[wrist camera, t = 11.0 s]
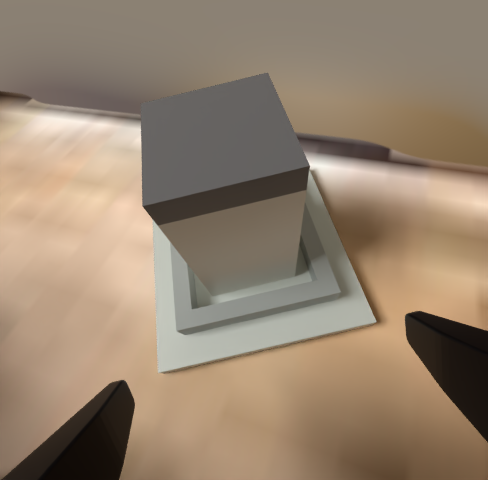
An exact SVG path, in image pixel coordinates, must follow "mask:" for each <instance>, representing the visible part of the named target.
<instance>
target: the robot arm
mask: <svg viewBox="0 0 488 480" xmlns="http://www.w3.org/2000/svg"><path fill="white" fill-rule="evenodd" d="M405 326H406V337H407V340H408V342H409V344H410V346H411V347H412V348H413V350H414V351H415V353H416V354H417V355H418V357H419V358H420V359H421V361H422V362H423V364H424V365H425V366H426V368H427V369H428V371H429V372H430V373H431V375H432V376H433V378H434V379H435V380H436V382H437V383H438V384H439V386H440V387H441V388H442V390H443V391H444V392H445V393H446V395H447V396H448V397H449V398H450V399H451V400H452V402H453V403H454V404H455V405H456V406H457V407H458V409H459V410H460V411H461V412H462V413H463V414H464V415H465V417H466V418H467V419H468V420H469V421H470V422H471V424H472V425H473V426H474V427H475V428H476V429H477V430H478V432H479V433H480V434H481V435H482V436H483V437H484V439H485V440H486V441H487V442H488V331H486V330H482V329H479V328H476V327H472V326H469V325H466V324H462V323H459V322H455V321H452V320H449V319H445V318H442V317H439V316H435V315H432V314H428V313H425V312H422V311H416V312H411V313H408V314H406V316H405ZM134 408H135V402H134V398H133V396H132V394H131V391H130V389H129V387H128V384H127V382H126V381H124V380H120V381H115V382H112V383H110V384H109V385H108V386H106V387H105V388H104V389H103V390H102V391H101V392H100V393H99V394H97V395H96V396H95V397H94V398H93V399H92V400H91V401H90V402H88V403H87V404H86V405H85V406H84V407H83V408H82V409H81V410H79V411H78V412H77V413H76V414H75V415H74V416H73V417H72V418H70V419H69V420H68V421H67V422H66V423H65V424H64V425H63V426H61V427H60V428H59V429H58V430H57V431H56V432H55V433H54V434H52V435H51V436H50V437H49V438H48V439H47V440H46V441H45V442H43V443H42V444H41V445H40V446H39V447H38V448H37V449H36V450H34V451H33V452H32V453H31V454H30V455H29V456H28V457H27V458H25V459H24V460H23V461H22V462H21V463H20V464H19V465H18V466H16V467H15V468H14V469H13V470H12V471H11V472H10V473H9V474H7V475H6V476H5V477H4V478H3V479H2V480H119V478H120V474H121V471H122V467H123V463H124V459H125V454H126V449H127V444H128V439H129V434H130V429H131V424H132V418H133V413H134Z"/></svg>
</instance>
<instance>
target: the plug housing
mask: <svg viewBox="0 0 488 480" xmlns="http://www.w3.org/2000/svg"><path fill="white" fill-rule="evenodd" d="M141 142H142V201H143V207H144V209H145V210H146V211H147V213H148V214H149V215H150V216H151V218H152V219H153V220H154V222H155V223H156V224H157V225H158V227H159V228H160V229H161V231H162V232H163V233H164V235H165V236H166V237H167V238H168V240H169V241H170V242H171V244H172V245H173V246H174V247H175V249H176V250H177V251H178V253H179V254H180V255H181V256H182V258H183V259H184V260H185V262H186V263H187V264H188V266H189V267H190V268H191V269H192V271H193V272H194V273H195V275H196V276H197V277H198V278H199V280H200V281H201V282H202V284H203V285H204V286H205V287H206V289H207V290H208V291H209V293H210V294H211V295H212V296H216V295H220V294H224V293H228V292H232V291H237V290H241V289H245V288H249V287H253V286H258V285H262V284H266V283H270V282H274V281H279V280H283V279H287V278H291V277H295V272H296V264H297V257H298V249H299V242H300V235H301V227H302V220H303V212H304V205H305V198H306V190H307V183H308V175H309V168H310V165H309V163H308V161H307V159H306V156H305V154H304V152H303V150H302V148H301V145H300V143H299V141H298V139H297V136H296V134H295V132H294V130H293V128H292V125H291V123H290V121H289V119H288V117H287V114H286V112H285V110H284V108H283V105H282V103H281V101H280V99H279V97H278V94H277V92H276V90H275V88H274V85H273V83H272V81H271V79H270V77H269V74H268V73H264V74H260V75H256V76H252V77H248V78H244V79H240V80H236V81H232V82H228V83H223V84H219V85H215V86H211V87H207V88H203V89H199V90H195V91H190V92H186V93H182V94H178V95H174V96H170V97H166V98H162V99H158V100H153V101H149V102H146V103H142V104H141Z"/></svg>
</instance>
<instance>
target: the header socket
mask: <svg viewBox="0 0 488 480" xmlns="http://www.w3.org/2000/svg"><path fill="white" fill-rule="evenodd" d="M153 243H154V272H155V300H156V328H157V357H158V373H164V374H165V373H169V372H173V371H178V370H182V369H186V368H191V367H195V366H199V365H203V364H208V363H212V362H216V361H221V360H225V359H229V358H234V357H238V356H242V355H246V354H251V353H255V352H259V351H264V350H268V349H272V348H276V347H281V346H285V345H289V344H294V343H298V342H302V341H306V340H311V339H315V338H319V337H324V336H328V335H332V334H337V333H341V332H345V331H349V330H354V329H358V328H362V327H367V326H371V325H373V324H374V323H376V319H375V317H374V315H373V313H372V310H371V308H370V306H369V303H368V301H367V299H366V297H365V294H364V292H363V290H362V288H361V285H360V283H359V281H358V279H357V276H356V274H355V272H354V269H353V267H352V265H351V263H350V260H349V258H348V256H347V254H346V251H345V249H344V247H343V245H342V242H341V240H340V238H339V235H338V233H337V231H336V229H335V226H334V224H333V222H332V220H331V217H330V215H329V213H328V211H327V208H326V206H325V204H324V201H323V199H322V197H321V195H320V192H319V190H318V188H317V186H316V183H315V181H314V179H313V176H312V174H311V172H310V170H309V175H308V183H307V190H306V198H305V205H304V212H303V220H302V227H301V235H300V242H299V249H298V257H297V264H296V272H295V277H291V278H287V279H283V280H279V281H274V282H270V283H266V284H262V285H258V286H253V287H249V288H245V289H241V290H237V291H232V292H228V293H224V294H220V295H216V296H212V295H211V294H210V293H209V291H208V290H207V289H206V287H205V286H204V285H203V284H202V282H201V281H200V280H199V278H198V277H197V276H196V275H195V273H194V272H193V271H192V269H191V268H190V267H189V266H188V264H187V263H186V262H185V260H184V259H183V258H182V256H181V255H180V254H179V253H178V251H177V250H176V249H175V247H174V246H173V245H172V244H171V242H170V241H169V240H168V238H167V237H166V236H165V235H164V233H163V232H162V231H161V229H160V228H159V227H158V225H157V224H156V223H155V222H154V220H153Z"/></svg>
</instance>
